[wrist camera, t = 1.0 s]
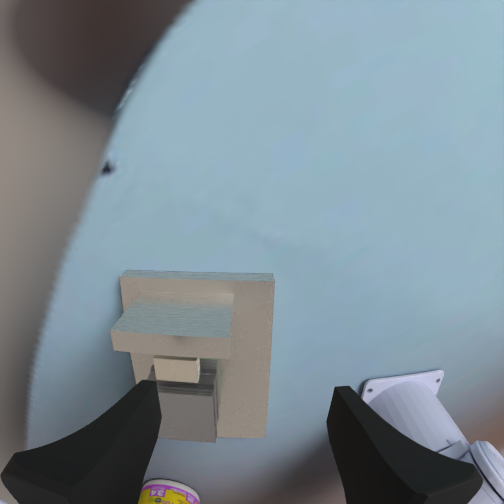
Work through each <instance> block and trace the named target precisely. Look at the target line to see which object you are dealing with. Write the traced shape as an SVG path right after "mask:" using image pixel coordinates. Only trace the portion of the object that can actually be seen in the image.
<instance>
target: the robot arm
mask: <svg viewBox="0 0 504 504" xmlns="http://www.w3.org/2000/svg"><path fill="white" fill-rule="evenodd" d="M443 376H444V372H443V371H442V370H435V371H429V372H423V373H416V374H410V375H402V376H395V377H387V378H378V379H370V380H368V381H366V382H365V384H364V388H363V392H362V396H361V397H360V396H359V395H358V394H357V393H356V392H355V391H354V390H353V389H352V388H351V387H350V386H339V387H335V388H334V393H333V397H332V401H331V405H330V409H329V413H328V417H327V421H326V422H327V428H328V435H329V440H330V444H331V448H332V451H333V454H334V457H335V460H336V464H337V467H338V470H339V473H340V476H341V479H342V483H343V487H344V491H345V497H346V503H347V504H504V458H503V457H502V456H501V455H500V453H499V452H498V451H497V450H496V449H495V448H494V447H493V446H492V445H491V444H490V443H489V442H487V441H475V442H474V443H473V444H472V445H470V444H469V443H468V442H467V440H466V439H465V437H464V436H463V434H462V433H461V431H460V430H459V428H458V427H457V426H456V424H455V423H454V421H453V420H452V418H451V417H450V416H449V414H448V413H447V411H446V410H445V408H444V407H443V406H442V404H441V403H440V402H439V400H438V399H437V397H436V394H437V392H438V389H439V386H440V384H441V381H442V378H443ZM368 389H370V390H368ZM367 390H368V391H367ZM161 419H162V414H161V408H160V402H159V396H158V390H157V383H156V381H150V380H141V381H140V382H139V383H138V384H137V385H135V386H134V387H133V388H132V389H131V390H130V391H129V392H128V393H127V394H126V395H125V396H124V397H123V398H122V399H120V400H119V401H118V402H117V403H116V404H115V405H114V406H112V407H111V408H110V409H109V410H108V411H106V412H105V413H104V414H102V415H101V416H100V417H99V418H97V419H96V420H94V421H93V422H92V423H90V424H89V425H87V426H85V427H84V428H82V429H80V430H79V431H77V432H75V433H73V434H71V435H69V436H67V437H65V438H62V439H60V440H58V441H56V442H53V443H50V444H48V445H45V446H42V447H38V448H35V449H31V450H27V451H22V452H18V453H15V454H14V455H13V456H12V458H11V459H10V461H9V462H8V464H7V465H6V467H5V468H4V470H3V472H2V473H1V479H2V482H3V484H4V485H5V487H6V488H7V489H8V491H9V492H10V493H11V494H12V496H13V497H14V498H15V499H16V500H17V502H18V503H19V504H138V501H139V496H140V491H141V486H142V482H143V478H144V475H145V472H146V469H147V467H148V464H149V461H150V458H151V455H152V452H153V450H154V447H155V444H156V441H157V438H158V434H159V429H160V424H161ZM0 504H8V503H7V502H5V501H3V500H2V499H0Z"/></svg>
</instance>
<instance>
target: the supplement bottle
mask: <svg viewBox="0 0 504 504" xmlns="http://www.w3.org/2000/svg"><path fill="white" fill-rule="evenodd" d="M138 504H199V496H198V494H197V493H196V492H195V491H194V490H193V489H191V488H190V487H188V486H186V485H184V484H181V483H178V482H175V481H171V480H164V479H157V480H151V481H149V482H147V483H146V484H145V485H144V486H143V489H142V492H141V495H140V498H139V502H138Z"/></svg>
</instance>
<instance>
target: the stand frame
mask: <svg viewBox="0 0 504 504" xmlns="http://www.w3.org/2000/svg"><path fill="white" fill-rule="evenodd" d="M274 285H275V280H274V276H273V274H271V273H216V272H177V271H145V270H127V271H125V272H124V273H123V274H122V275H121V276H120V286H121V295H122V303H123V310H124V313H123V314H122V316H121V317H120V318H119V319H118V321H117V322H116V323H115V324H114V326H113V327H112V328H111V329H110V333H111V339H112V344H113V349H114V351H123V352H130V354H131V360H132V365H133V370H134V375H135V380H136V385H137V384H138V383H139V382H140V381H141V380H146V379H147V378H148V376H149V374H150V371H151V370H150V369H151V367H152V365H154V368H155V374H156V380H165V381H177V382H190V383H198V382H199V377H200V360H199V358H216V359H219V362H220V389H221V403H220V406H219V421H218V423H217V437H232V438H265V435H266V421H267V407H268V392H269V376H270V360H271V343H272V325H273V306H274Z"/></svg>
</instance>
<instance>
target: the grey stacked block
mask: <svg viewBox="0 0 504 504" xmlns="http://www.w3.org/2000/svg"><path fill="white" fill-rule="evenodd" d="M199 360H200V377H199V382H198V383H190V382H177V381H165V380H156V374H155V368H154V365H152V367H151V369H150V370H151V371H150V374H149V376H148V378H147V379H146V380H150V381H156V383H157V390H158V396H159V402H160V408H161V414H162V419H161V424H160V429H159V434H158V437H159V438H167V439H176V440H186V441H198V442H213V443H215V442H216V437H217V423H218V421H219V406H220V403H221V389H220V362H219V359H216V358H199Z"/></svg>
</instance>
